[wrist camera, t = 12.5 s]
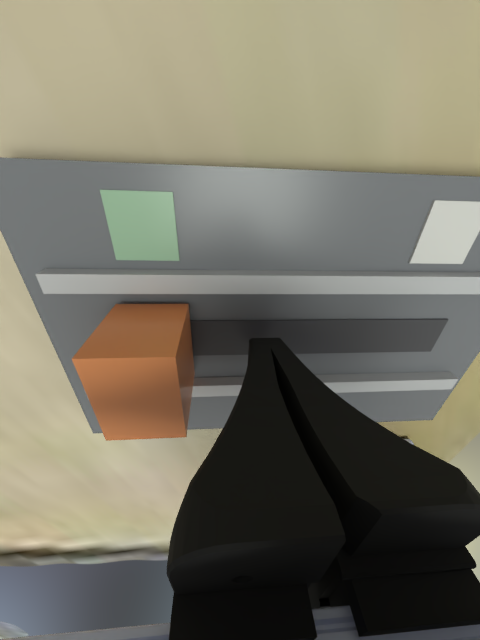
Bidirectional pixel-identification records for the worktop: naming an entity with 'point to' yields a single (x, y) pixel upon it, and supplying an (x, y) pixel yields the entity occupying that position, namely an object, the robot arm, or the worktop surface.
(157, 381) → the knob
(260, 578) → the robot arm
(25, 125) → the worktop surface
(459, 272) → the panel
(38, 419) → the worktop surface
